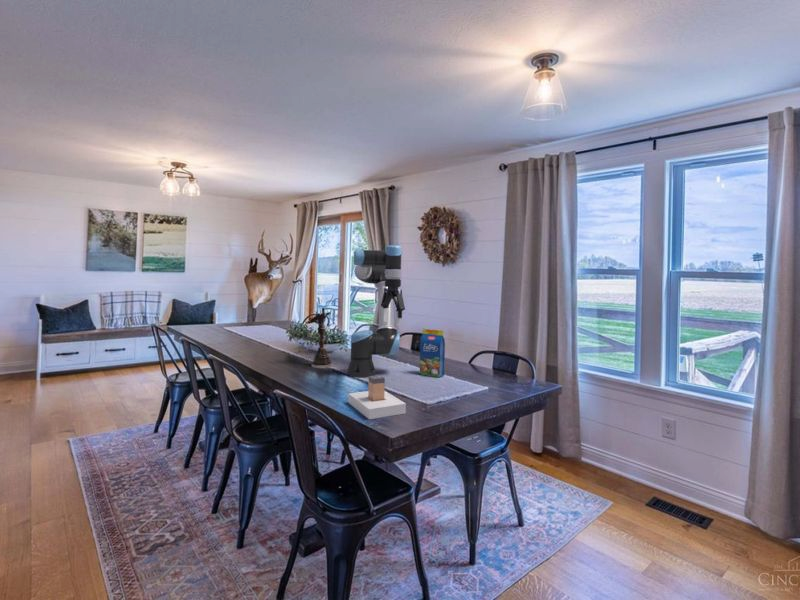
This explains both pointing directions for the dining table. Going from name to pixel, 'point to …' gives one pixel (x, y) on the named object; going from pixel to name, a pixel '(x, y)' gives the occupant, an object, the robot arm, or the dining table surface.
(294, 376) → the dining table surface
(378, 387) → the plug
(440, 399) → the dining table surface
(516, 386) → the dining table surface
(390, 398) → the socket
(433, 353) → the blue food package
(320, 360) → the bird statue
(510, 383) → the dining table surface
